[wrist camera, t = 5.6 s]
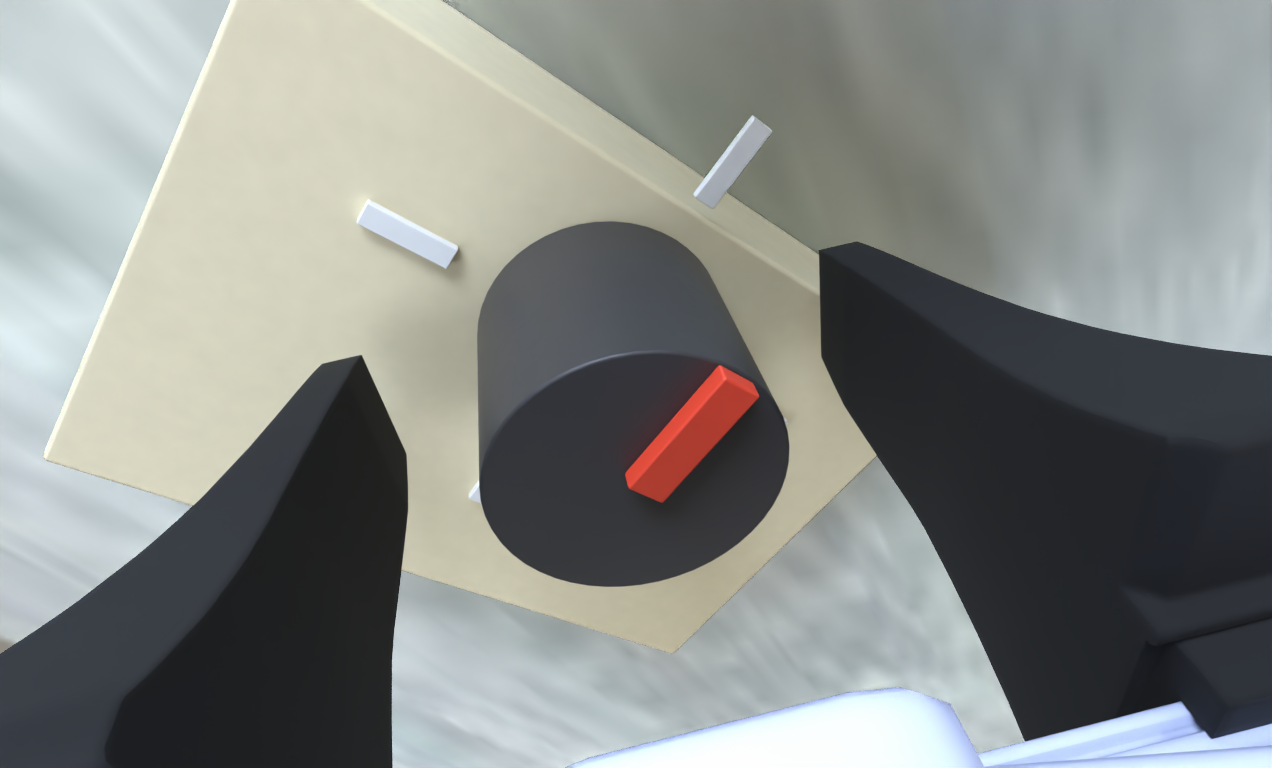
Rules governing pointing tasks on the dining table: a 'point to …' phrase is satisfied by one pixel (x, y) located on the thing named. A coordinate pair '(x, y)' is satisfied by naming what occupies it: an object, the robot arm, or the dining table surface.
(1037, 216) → the dining table surface
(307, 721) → the robot arm
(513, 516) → the knob
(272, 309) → the panel
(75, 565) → the dining table surface
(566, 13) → the dining table surface
